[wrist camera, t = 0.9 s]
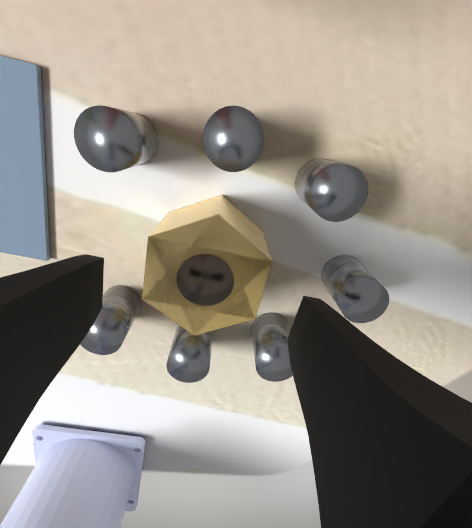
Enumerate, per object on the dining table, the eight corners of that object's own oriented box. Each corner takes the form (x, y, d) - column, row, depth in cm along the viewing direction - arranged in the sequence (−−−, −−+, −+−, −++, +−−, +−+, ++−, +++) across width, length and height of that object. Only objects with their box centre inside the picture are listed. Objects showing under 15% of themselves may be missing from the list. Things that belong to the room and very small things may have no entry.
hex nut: (244, 299, 17) (247, 345, 13) (159, 283, 16) (138, 327, 13) (269, 205, 15) (282, 228, 11) (172, 183, 14) (151, 200, 10)
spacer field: (320, 363, 19) (336, 404, 16) (102, 327, 17) (76, 366, 15) (412, 157, 14) (461, 163, 11) (111, 81, 12) (73, 64, 9)
